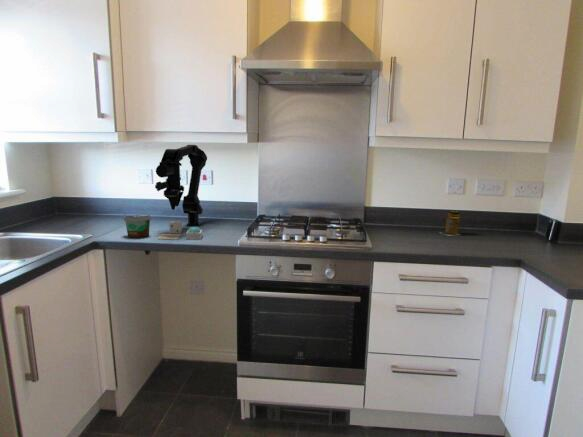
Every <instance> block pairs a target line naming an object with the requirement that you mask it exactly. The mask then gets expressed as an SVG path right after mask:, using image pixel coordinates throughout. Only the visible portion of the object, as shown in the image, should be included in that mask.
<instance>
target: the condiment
mask: <svg viewBox="0 0 583 437" xmlns="http://www.w3.org/2000/svg"><path fill="white" fill-rule="evenodd" d="M460 220H461V219H460V212H459V211H458V210H448V213H447V216H446V220H445V222H446V224H445V231H439V232H438V233H439V234H441V235H445V236H448V237H449V236H450V237H453V236H461V235H462V234H461V233H459V225H460Z"/></svg>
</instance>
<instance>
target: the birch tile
mask: <svg viewBox="0 0 583 437" xmlns="http://www.w3.org/2000/svg"><path fill="white" fill-rule="evenodd" d="M181 236H182V233H162V234H160V236H159V237H158V238H157V240H179V239H180V237H181Z"/></svg>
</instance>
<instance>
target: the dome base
mask: <svg viewBox="0 0 583 437" xmlns="http://www.w3.org/2000/svg"><path fill="white" fill-rule="evenodd" d="M185 234H186V236H185V238H186V240H201V239H202V238H203V229H199V233H189V229H187V231H186V233H185Z"/></svg>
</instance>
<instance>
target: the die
mask: <svg viewBox="0 0 583 437" xmlns="http://www.w3.org/2000/svg"><path fill="white" fill-rule="evenodd" d="M168 224H169V227H168V228H169V234H182V232H183V221H181V220H173V221H172V220H171V221H170V222H169V223H168Z"/></svg>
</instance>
